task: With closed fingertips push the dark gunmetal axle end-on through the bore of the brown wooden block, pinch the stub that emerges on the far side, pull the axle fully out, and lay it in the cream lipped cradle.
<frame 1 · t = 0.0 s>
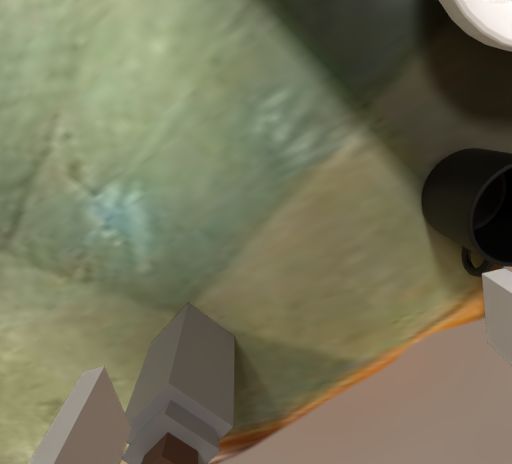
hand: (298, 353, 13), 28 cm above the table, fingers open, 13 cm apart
mug: (459, 204, 42), on the table
perfume bottle: (193, 338, 45), on the table
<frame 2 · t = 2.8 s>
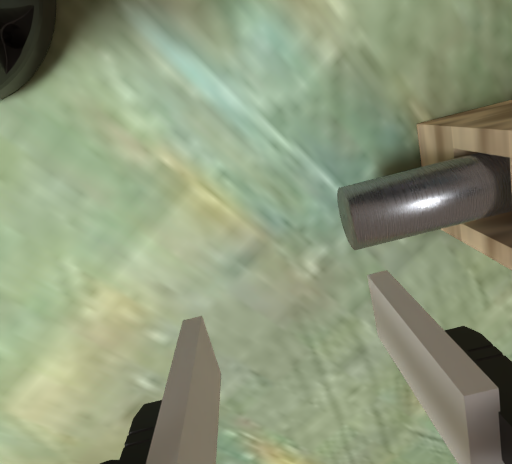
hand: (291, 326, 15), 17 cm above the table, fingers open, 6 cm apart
brown wooden block: (484, 159, 31), on the table
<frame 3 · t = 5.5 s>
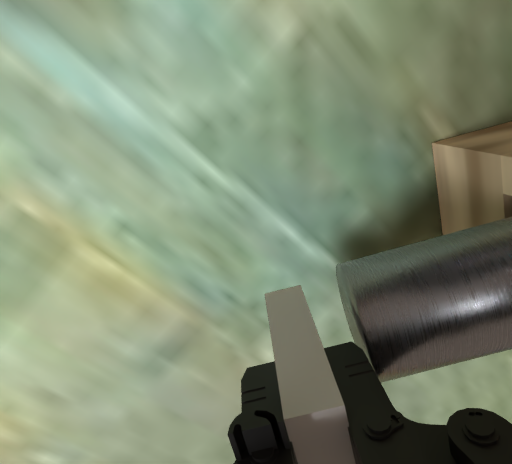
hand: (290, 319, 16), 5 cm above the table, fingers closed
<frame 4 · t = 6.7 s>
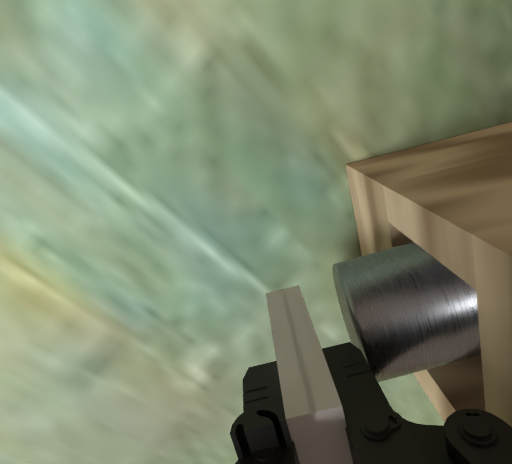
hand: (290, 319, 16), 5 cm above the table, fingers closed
brown wooden block: (457, 217, 20), on the table
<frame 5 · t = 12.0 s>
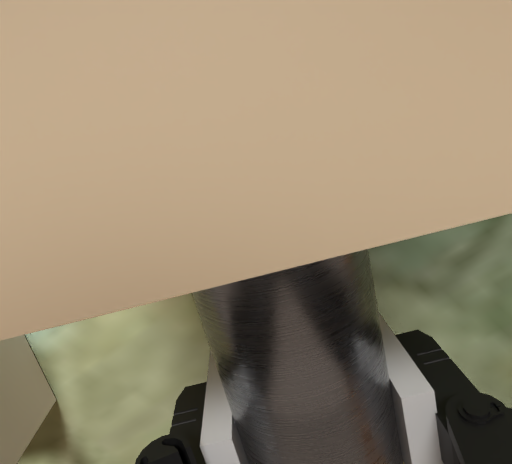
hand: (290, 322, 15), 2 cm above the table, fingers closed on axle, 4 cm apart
axle: (255, 151, 10), point 5 cm above the table, tilted 5°, touching brown wooden block, gripper
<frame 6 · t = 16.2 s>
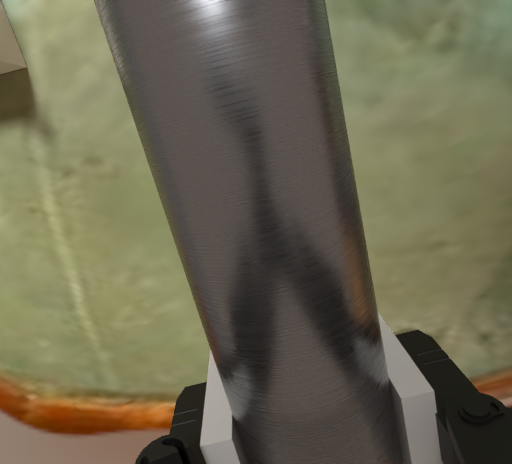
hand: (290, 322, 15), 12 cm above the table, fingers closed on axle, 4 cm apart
axle: (255, 151, 10), point 15 cm above the table, tilted 6°, touching gripper
when the fingers open (2 cm above the table, at t = 20.3 s): axle drops 2 cm, resting on cradle.
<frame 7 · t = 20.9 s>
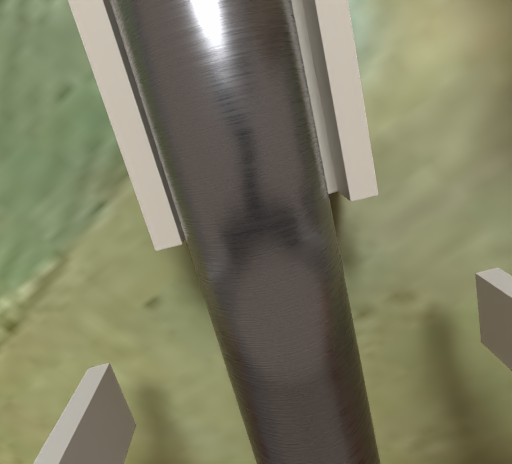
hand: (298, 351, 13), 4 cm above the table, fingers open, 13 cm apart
axle: (254, 148, 12), point 3 cm above the table, tilted 12°, touching cradle
cradle: (231, 88, 14), on the table
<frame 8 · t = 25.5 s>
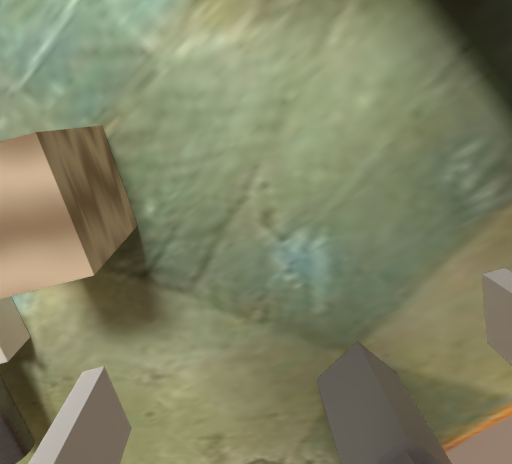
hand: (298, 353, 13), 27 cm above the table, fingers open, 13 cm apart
perfume bottle: (356, 375, 46), on the table
brown wooden block: (80, 187, 38), on the table
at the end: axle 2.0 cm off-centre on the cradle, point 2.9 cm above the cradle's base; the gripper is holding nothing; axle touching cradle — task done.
